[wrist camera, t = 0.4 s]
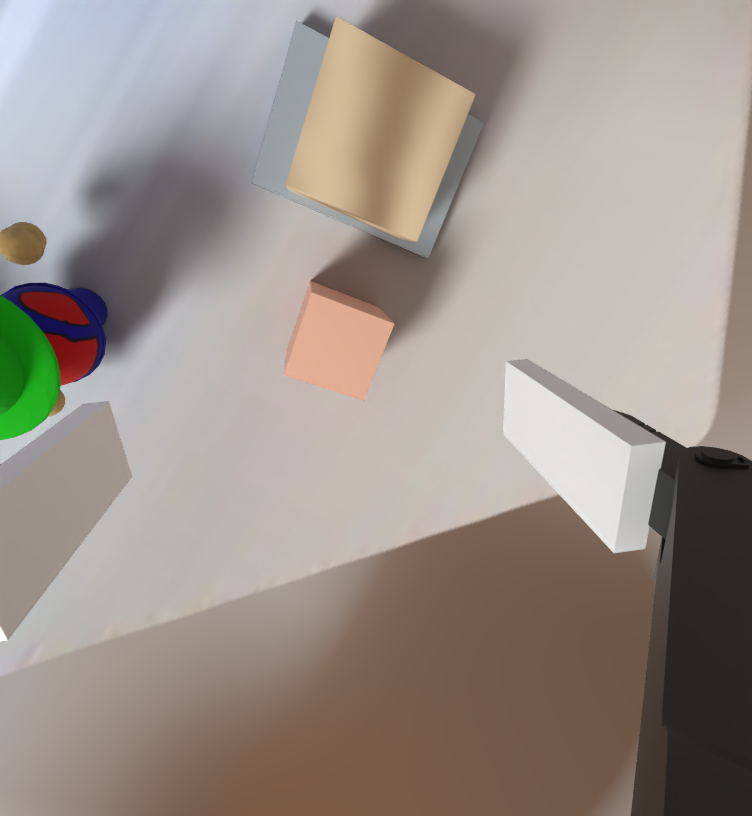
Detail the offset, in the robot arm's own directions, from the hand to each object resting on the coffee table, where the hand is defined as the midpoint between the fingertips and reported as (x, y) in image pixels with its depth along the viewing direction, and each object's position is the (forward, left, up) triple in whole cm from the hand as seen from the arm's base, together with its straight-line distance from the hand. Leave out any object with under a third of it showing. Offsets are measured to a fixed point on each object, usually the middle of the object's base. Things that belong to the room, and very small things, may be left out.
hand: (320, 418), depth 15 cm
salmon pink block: (+2, -1, -23) cm, 23 cm away
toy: (-17, -7, -23) cm, 30 cm away
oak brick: (0, +12, -22) cm, 25 cm away
